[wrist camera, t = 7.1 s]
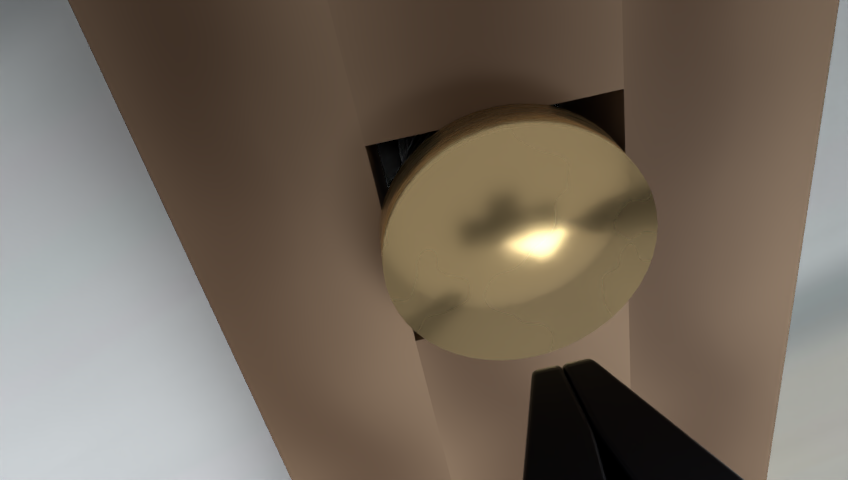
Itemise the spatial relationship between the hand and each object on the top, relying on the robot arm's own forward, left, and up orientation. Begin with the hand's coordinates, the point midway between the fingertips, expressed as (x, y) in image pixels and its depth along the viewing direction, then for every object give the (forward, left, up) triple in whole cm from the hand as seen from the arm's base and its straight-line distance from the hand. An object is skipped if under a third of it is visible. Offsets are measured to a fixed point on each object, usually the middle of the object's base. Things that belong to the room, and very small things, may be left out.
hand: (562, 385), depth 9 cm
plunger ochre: (0, 0, -9) cm, 9 cm away
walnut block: (0, +7, -9) cm, 11 cm away
